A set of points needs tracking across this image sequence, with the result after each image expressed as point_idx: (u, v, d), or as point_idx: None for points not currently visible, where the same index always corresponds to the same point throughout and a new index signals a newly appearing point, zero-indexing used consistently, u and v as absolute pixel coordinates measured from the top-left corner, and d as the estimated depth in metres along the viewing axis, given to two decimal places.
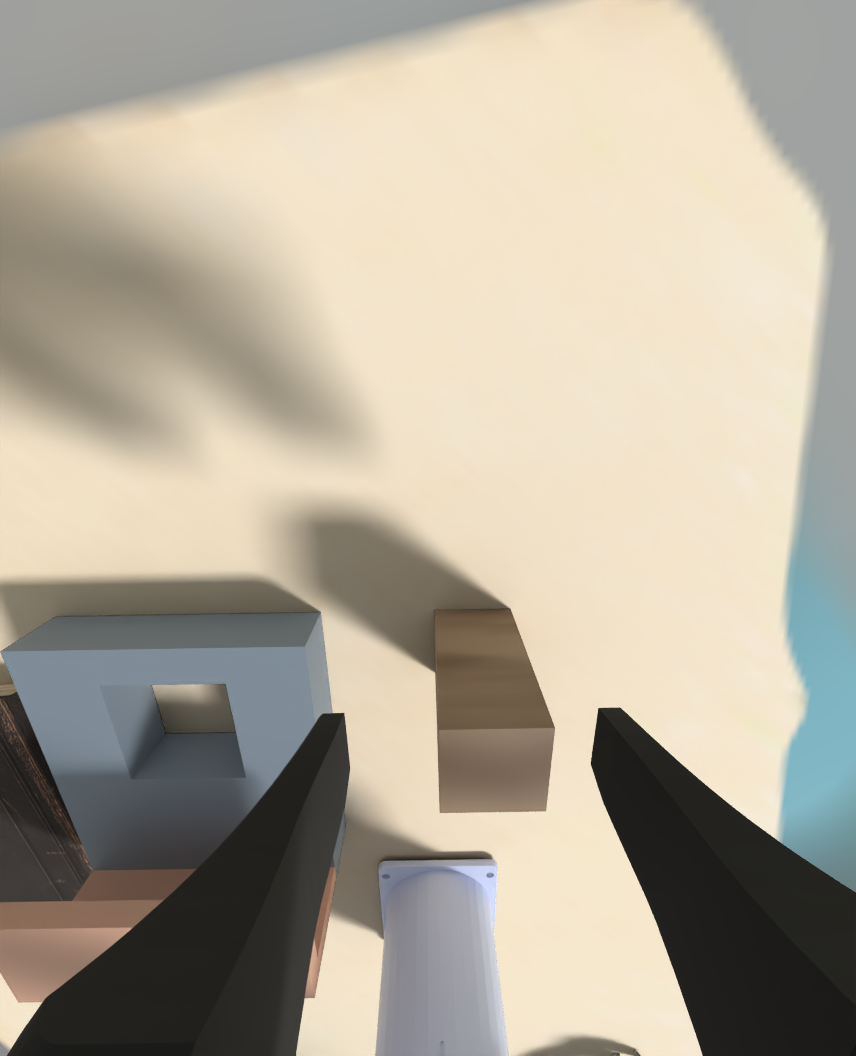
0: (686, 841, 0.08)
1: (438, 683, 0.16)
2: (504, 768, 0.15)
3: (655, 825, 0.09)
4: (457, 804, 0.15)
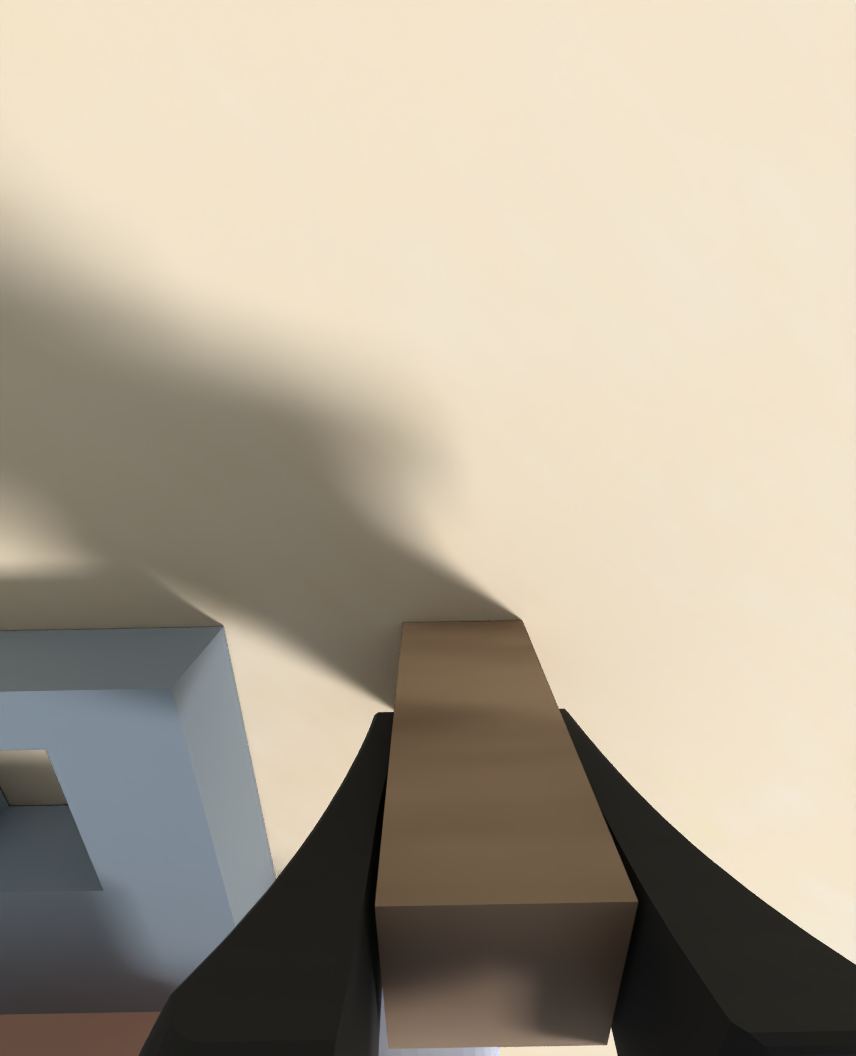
0: None
1: (390, 771, 0.08)
2: (522, 975, 0.07)
3: None
4: (424, 1035, 0.07)
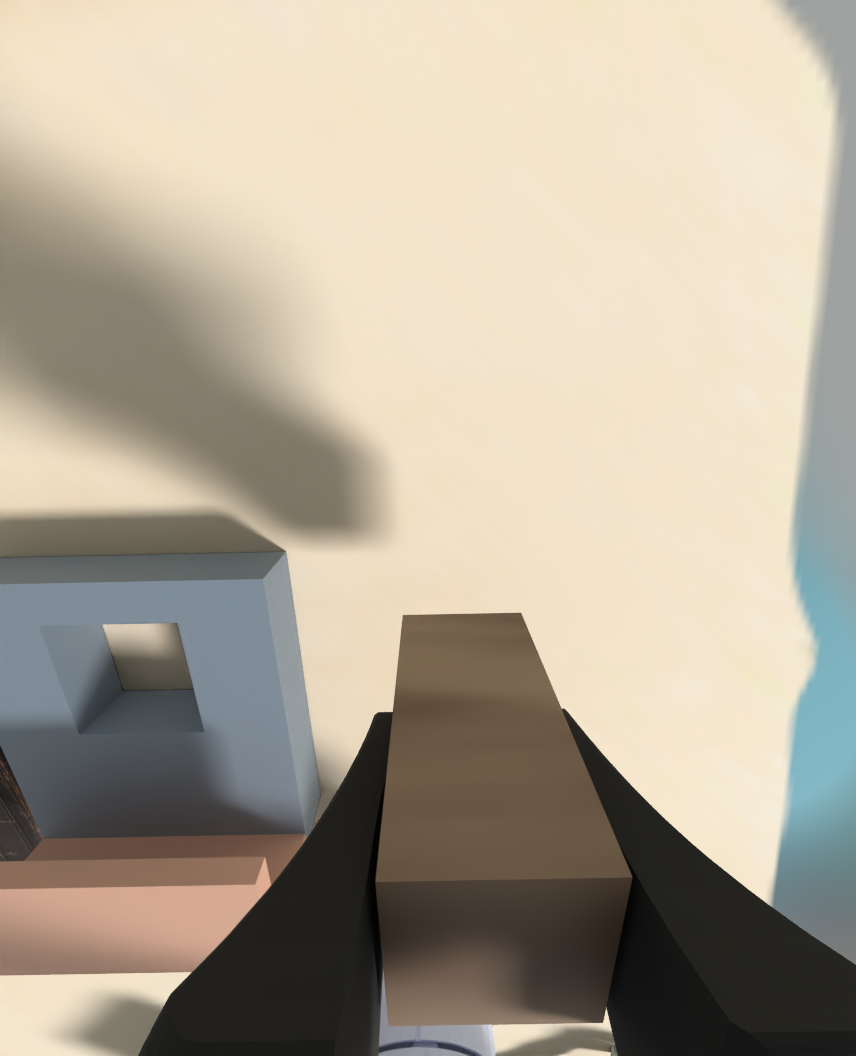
0: None
1: (390, 755, 0.09)
2: (519, 951, 0.07)
3: None
4: (423, 1012, 0.08)
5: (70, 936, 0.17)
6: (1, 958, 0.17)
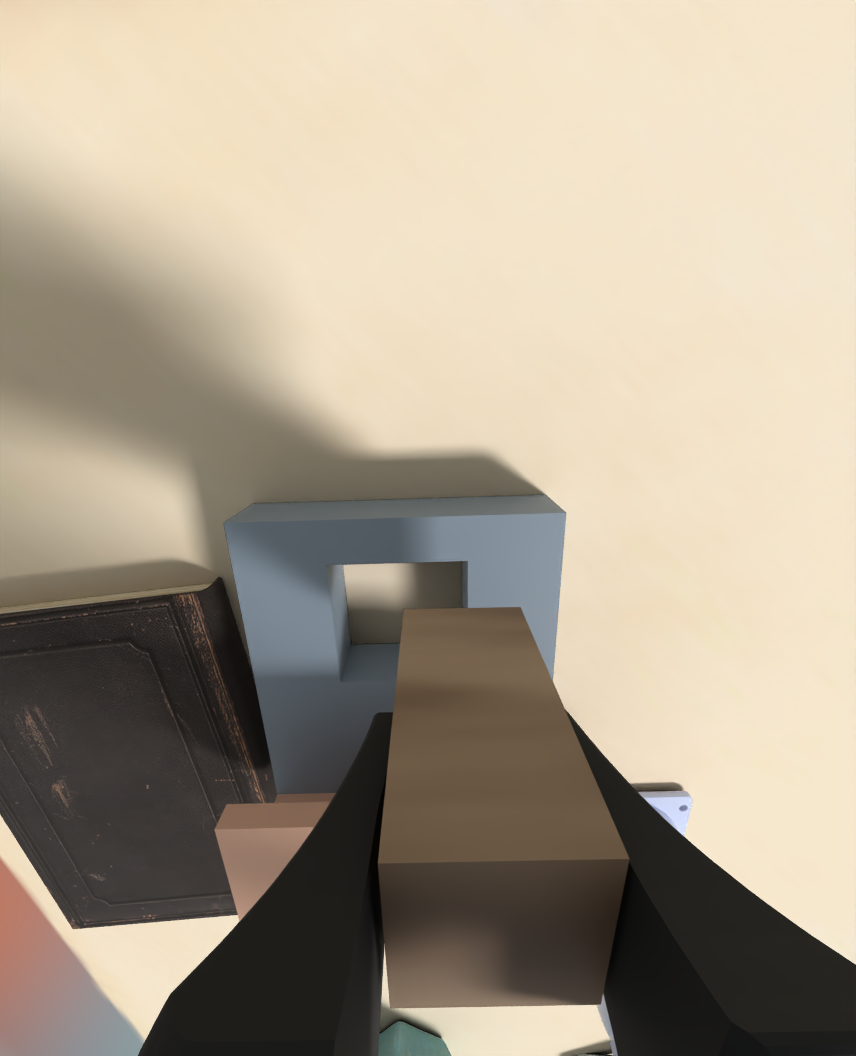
0: None
1: (392, 743, 0.09)
2: (519, 933, 0.07)
3: None
4: (424, 994, 0.08)
5: None
6: None
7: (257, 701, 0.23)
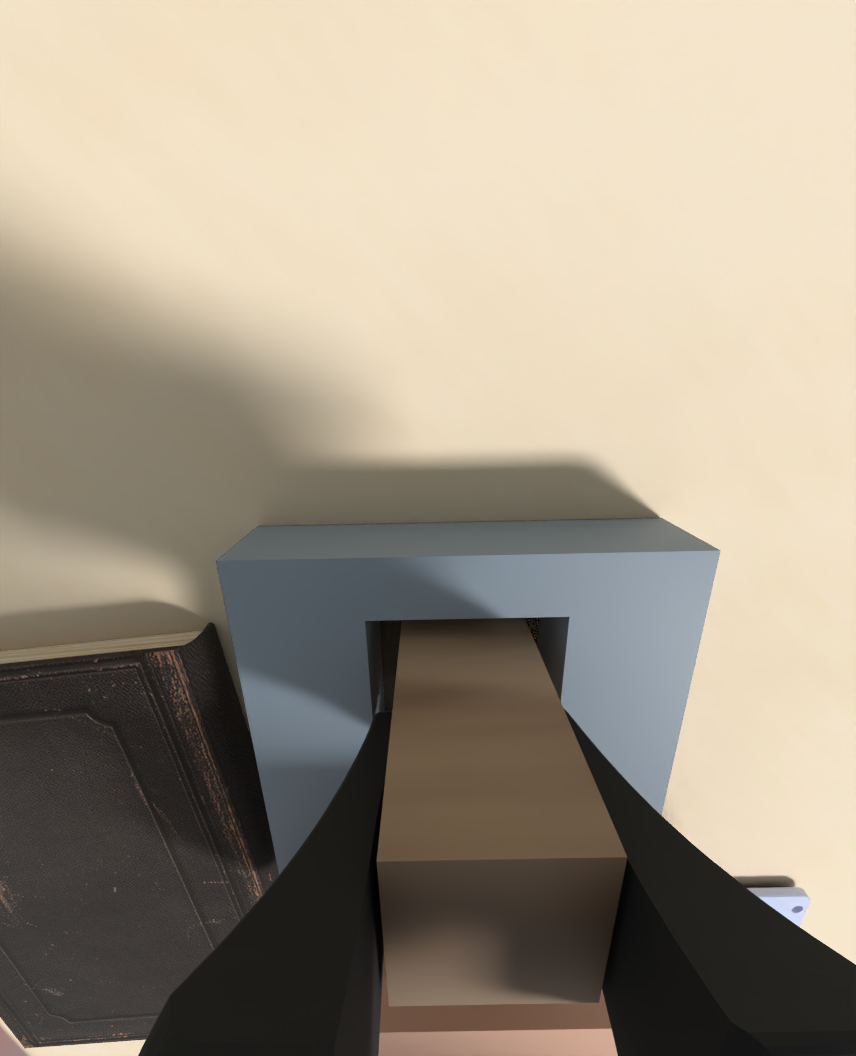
0: None
1: (391, 742, 0.09)
2: (517, 931, 0.07)
3: None
4: (423, 992, 0.08)
5: None
6: None
7: (259, 779, 0.18)
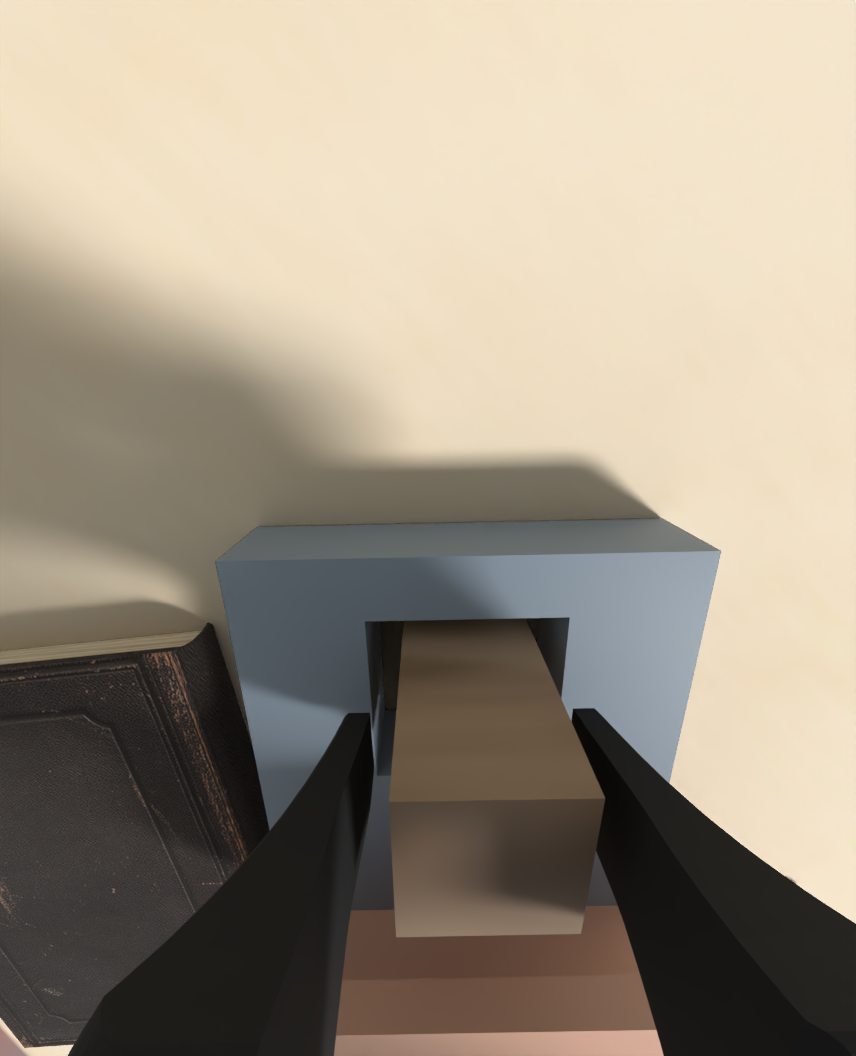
0: (649, 842, 0.08)
1: (398, 708, 0.10)
2: (510, 866, 0.08)
3: (622, 825, 0.09)
4: (426, 924, 0.09)
5: None
6: None
7: (258, 781, 0.18)
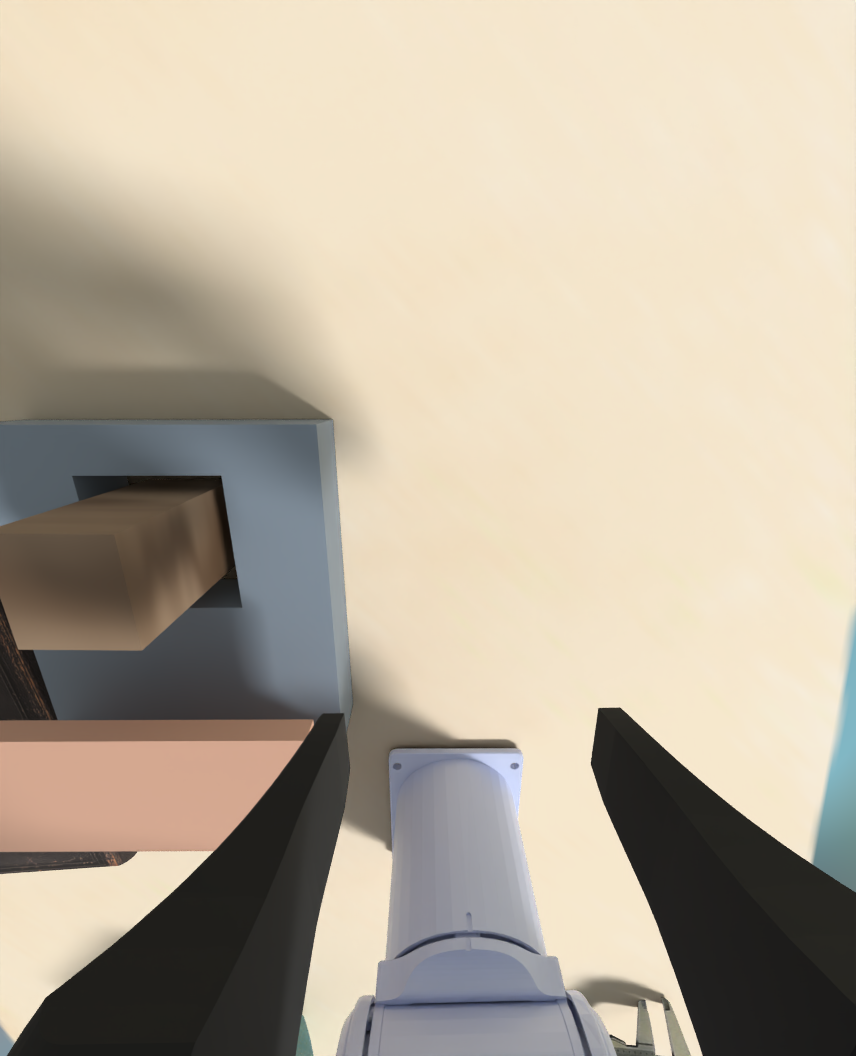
0: (686, 841, 0.08)
1: (47, 511, 0.14)
2: (73, 589, 0.13)
3: (655, 825, 0.09)
4: (35, 638, 0.13)
5: (99, 803, 0.15)
6: (22, 830, 0.16)
7: None
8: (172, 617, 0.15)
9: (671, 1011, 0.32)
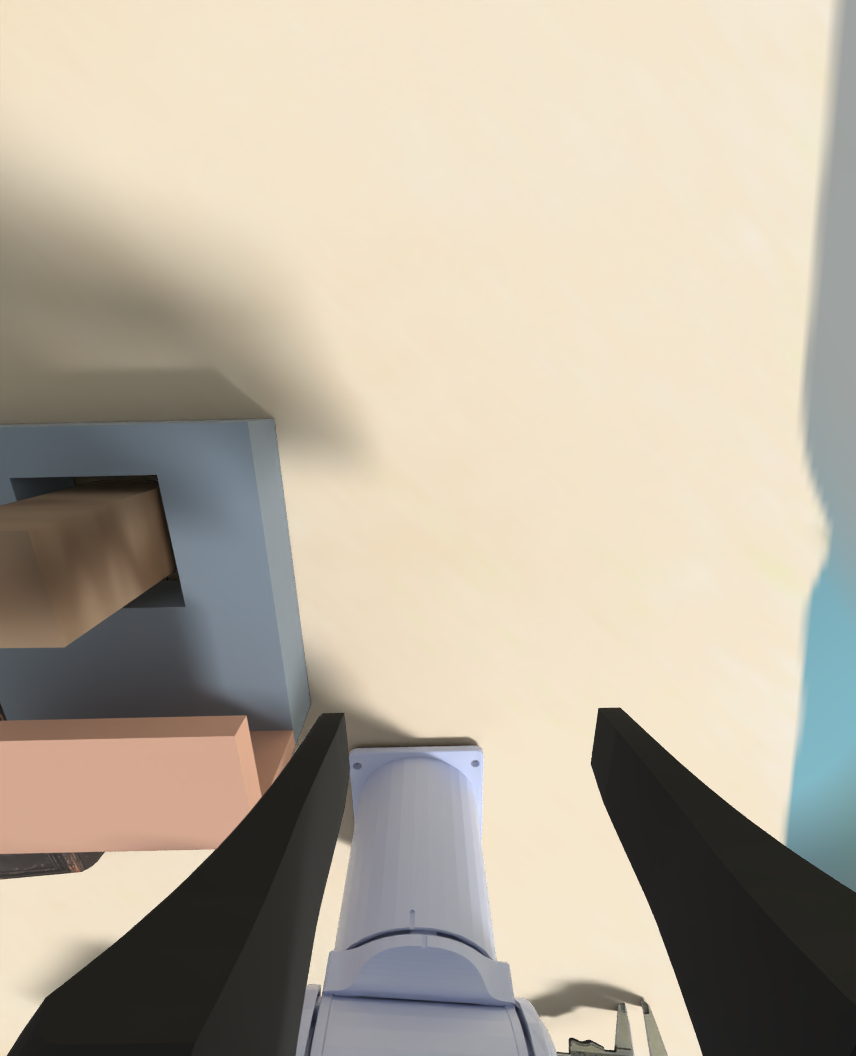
0: (686, 841, 0.08)
1: None
2: None
3: (655, 825, 0.09)
4: None
5: (34, 803, 0.15)
6: None
7: None
8: (102, 615, 0.15)
9: (650, 1014, 0.32)
